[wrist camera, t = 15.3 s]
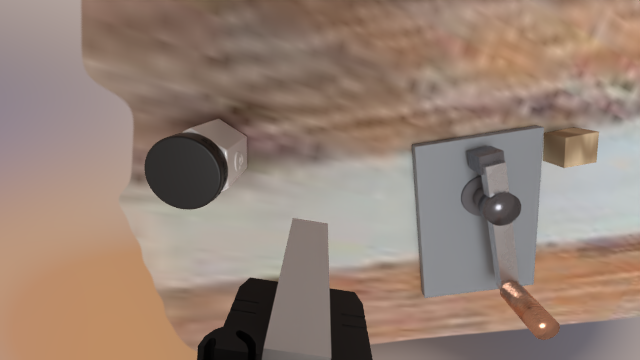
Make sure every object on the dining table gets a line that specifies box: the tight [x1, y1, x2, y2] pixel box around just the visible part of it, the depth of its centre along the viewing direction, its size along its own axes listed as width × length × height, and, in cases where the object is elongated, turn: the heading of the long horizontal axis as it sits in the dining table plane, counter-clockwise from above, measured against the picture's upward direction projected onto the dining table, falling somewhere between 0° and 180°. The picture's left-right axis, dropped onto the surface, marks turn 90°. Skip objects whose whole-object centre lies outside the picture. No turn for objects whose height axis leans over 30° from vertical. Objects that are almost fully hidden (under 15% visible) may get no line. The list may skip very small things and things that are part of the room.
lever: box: [467, 146, 560, 340], centre depth 38 cm, size 22×4×11 cm, turn 16°
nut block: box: [543, 128, 599, 168], centre depth 40 cm, size 4×4×4 cm
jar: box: [145, 119, 247, 209], centre depth 37 cm, size 9×8×12 cm
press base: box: [412, 126, 544, 298], centre depth 43 cm, size 25×17×4 cm
